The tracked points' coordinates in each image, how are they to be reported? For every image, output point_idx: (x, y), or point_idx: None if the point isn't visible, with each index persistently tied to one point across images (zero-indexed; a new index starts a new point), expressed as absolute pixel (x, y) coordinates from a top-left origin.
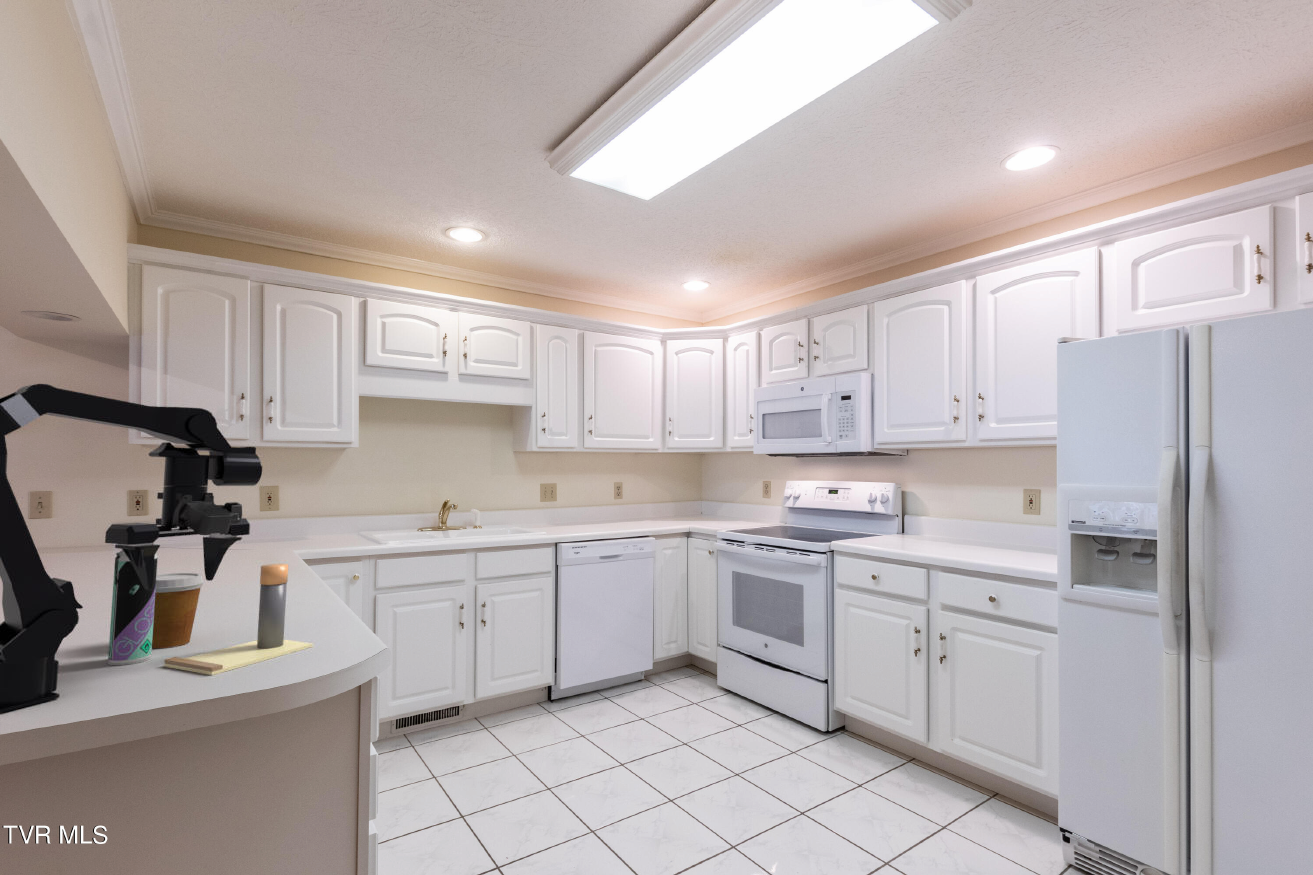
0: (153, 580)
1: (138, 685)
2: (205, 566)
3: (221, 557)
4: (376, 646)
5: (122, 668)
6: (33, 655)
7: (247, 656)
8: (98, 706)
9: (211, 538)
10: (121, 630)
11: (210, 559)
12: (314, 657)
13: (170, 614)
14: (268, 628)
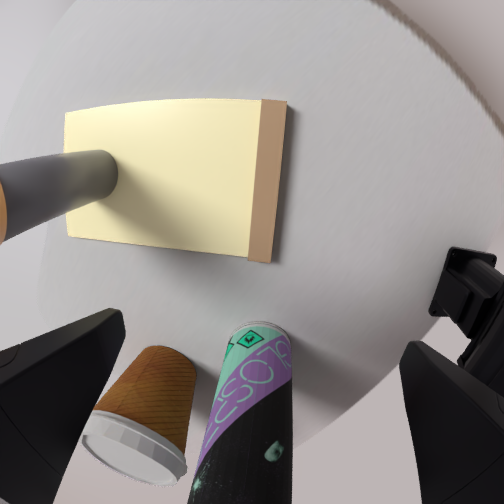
0: (428, 362)
1: (379, 188)
2: (96, 390)
3: (11, 353)
4: (53, 28)
5: (302, 315)
6: None
7: (169, 138)
8: (463, 153)
9: (4, 495)
10: (289, 382)
11: (61, 397)
12: (122, 39)
13: (164, 393)
14: (87, 161)
